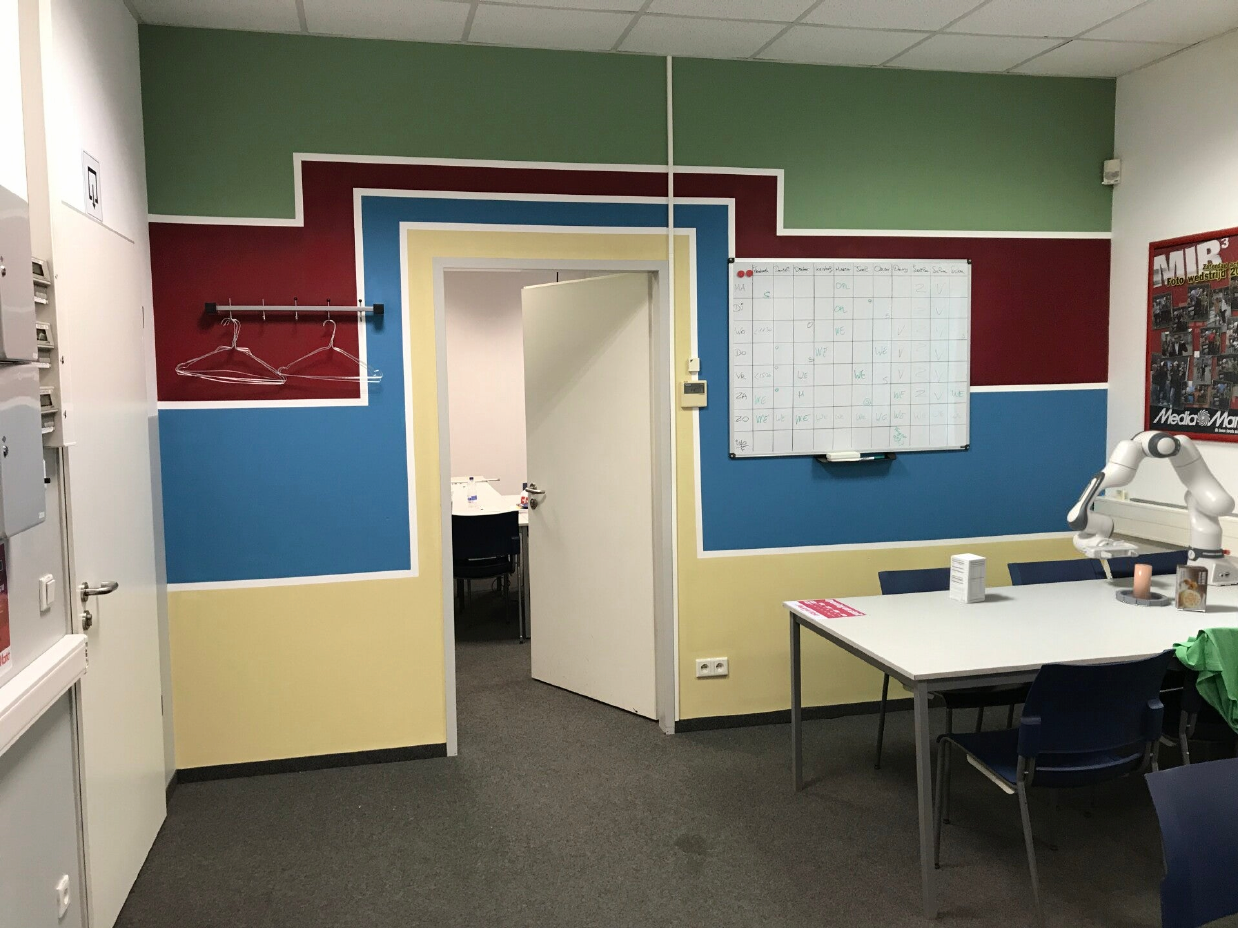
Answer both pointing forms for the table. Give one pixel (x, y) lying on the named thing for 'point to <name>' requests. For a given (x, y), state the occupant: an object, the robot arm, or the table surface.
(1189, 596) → the coffee box
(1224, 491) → the robot arm
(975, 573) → the supplement box
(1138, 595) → the peach cylinder
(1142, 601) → the tray
